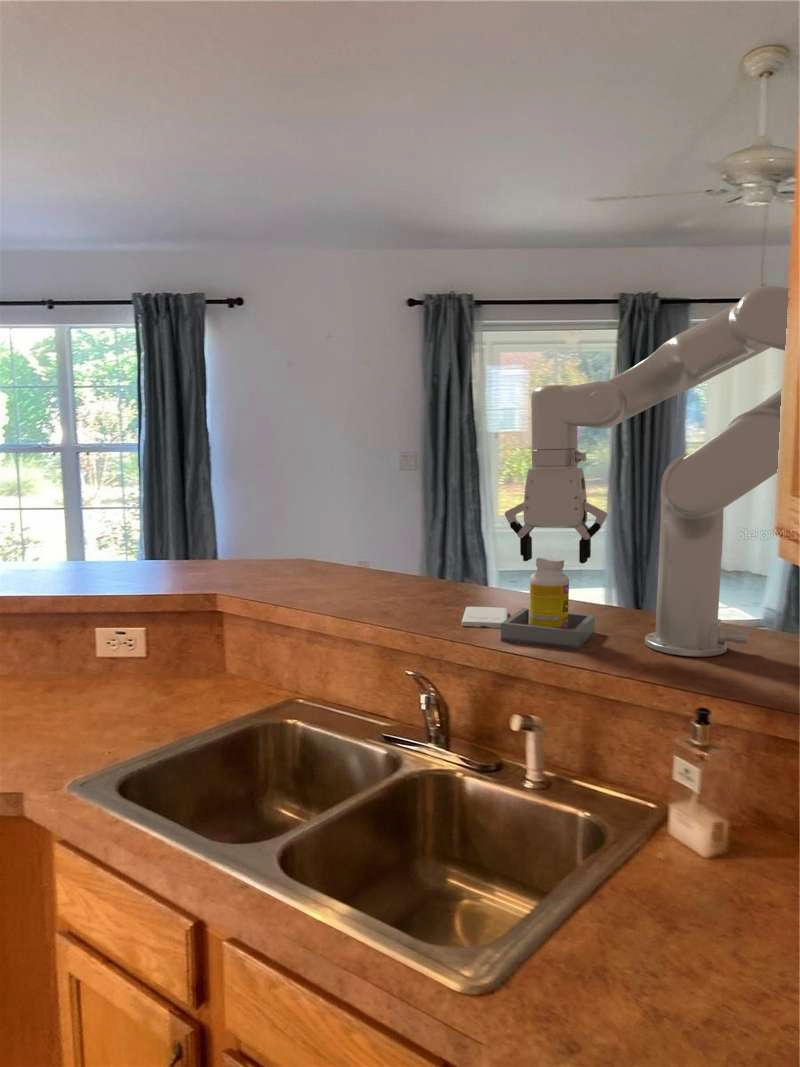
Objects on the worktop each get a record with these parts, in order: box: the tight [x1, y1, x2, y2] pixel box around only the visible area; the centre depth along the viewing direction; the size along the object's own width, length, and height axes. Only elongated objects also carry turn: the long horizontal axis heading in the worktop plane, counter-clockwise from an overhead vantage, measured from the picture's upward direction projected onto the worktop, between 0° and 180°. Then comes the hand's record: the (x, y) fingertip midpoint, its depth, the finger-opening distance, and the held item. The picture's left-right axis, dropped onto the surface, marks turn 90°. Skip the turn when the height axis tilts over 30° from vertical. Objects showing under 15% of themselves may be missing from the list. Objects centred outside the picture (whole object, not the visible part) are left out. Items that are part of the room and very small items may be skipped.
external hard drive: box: [460, 606, 509, 629], centre depth 147 cm, size 2×8×12 cm
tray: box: [500, 607, 596, 651], centre depth 135 cm, size 13×13×3 cm
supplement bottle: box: [528, 556, 570, 629], centre depth 134 cm, size 7×7×13 cm
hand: (555, 561), depth 133 cm, fingers open, 9 cm apart
